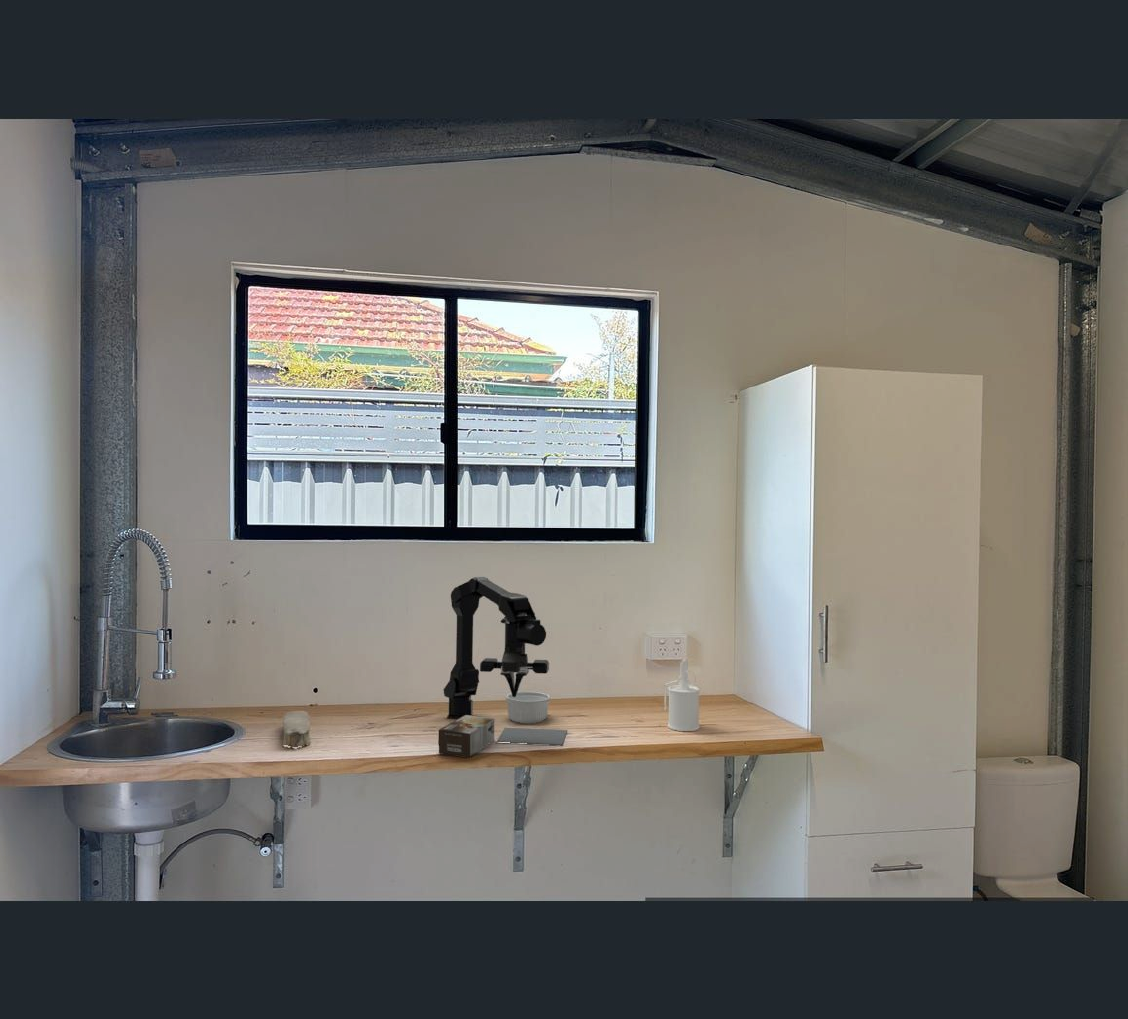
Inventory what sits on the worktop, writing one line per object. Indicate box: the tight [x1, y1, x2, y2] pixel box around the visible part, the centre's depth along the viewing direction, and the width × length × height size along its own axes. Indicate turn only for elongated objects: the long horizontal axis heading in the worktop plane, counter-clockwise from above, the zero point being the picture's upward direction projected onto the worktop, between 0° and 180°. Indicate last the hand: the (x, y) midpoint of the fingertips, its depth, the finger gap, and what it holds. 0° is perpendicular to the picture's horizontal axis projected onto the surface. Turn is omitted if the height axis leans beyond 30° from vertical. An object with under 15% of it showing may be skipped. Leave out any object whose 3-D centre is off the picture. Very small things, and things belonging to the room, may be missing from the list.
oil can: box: [663, 658, 701, 733], centre depth 228 cm, size 10×9×20 cm
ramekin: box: [505, 691, 551, 724], centre depth 235 cm, size 13×13×7 cm
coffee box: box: [437, 715, 496, 759], centre depth 206 cm, size 9×6×16 cm
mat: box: [495, 727, 568, 746], centre depth 216 cm, size 18×14×1 cm
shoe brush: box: [282, 710, 311, 748], centre depth 214 cm, size 24×8×5 cm, turn 20°
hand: (514, 696), depth 217 cm, fingers closed
